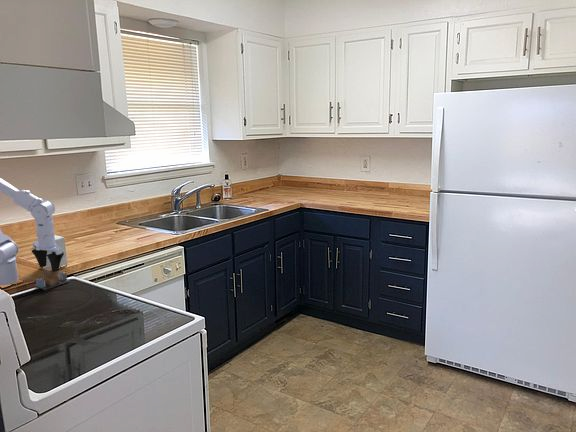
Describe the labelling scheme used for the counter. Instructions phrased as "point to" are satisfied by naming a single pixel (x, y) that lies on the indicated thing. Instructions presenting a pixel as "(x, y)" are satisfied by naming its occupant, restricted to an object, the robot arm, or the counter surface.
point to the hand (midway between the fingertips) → (49, 268)
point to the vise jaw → (40, 283)
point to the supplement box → (61, 244)
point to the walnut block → (50, 276)
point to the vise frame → (62, 280)
